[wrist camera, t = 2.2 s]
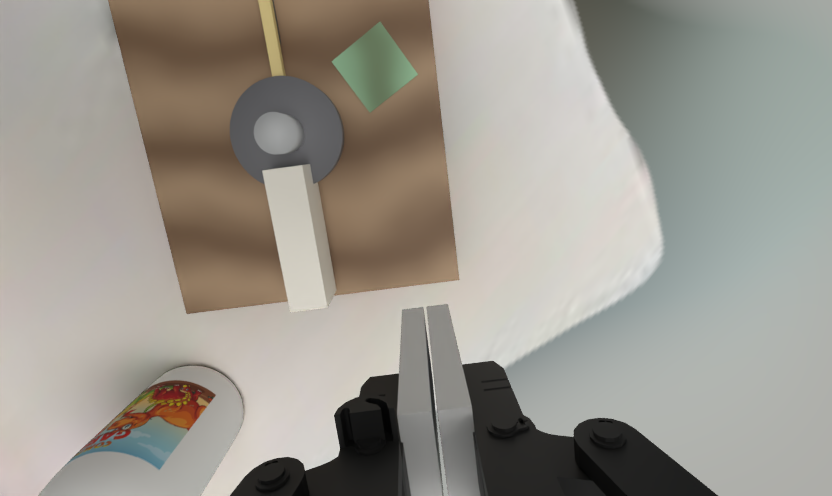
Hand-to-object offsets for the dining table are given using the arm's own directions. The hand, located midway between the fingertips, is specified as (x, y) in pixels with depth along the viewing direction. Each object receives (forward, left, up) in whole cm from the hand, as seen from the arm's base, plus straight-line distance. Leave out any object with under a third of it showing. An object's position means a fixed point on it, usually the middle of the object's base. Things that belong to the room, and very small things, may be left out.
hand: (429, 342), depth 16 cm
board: (-8, -8, -18) cm, 21 cm away
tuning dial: (-9, -8, -16) cm, 20 cm away
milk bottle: (+11, -20, -19) cm, 29 cm away
